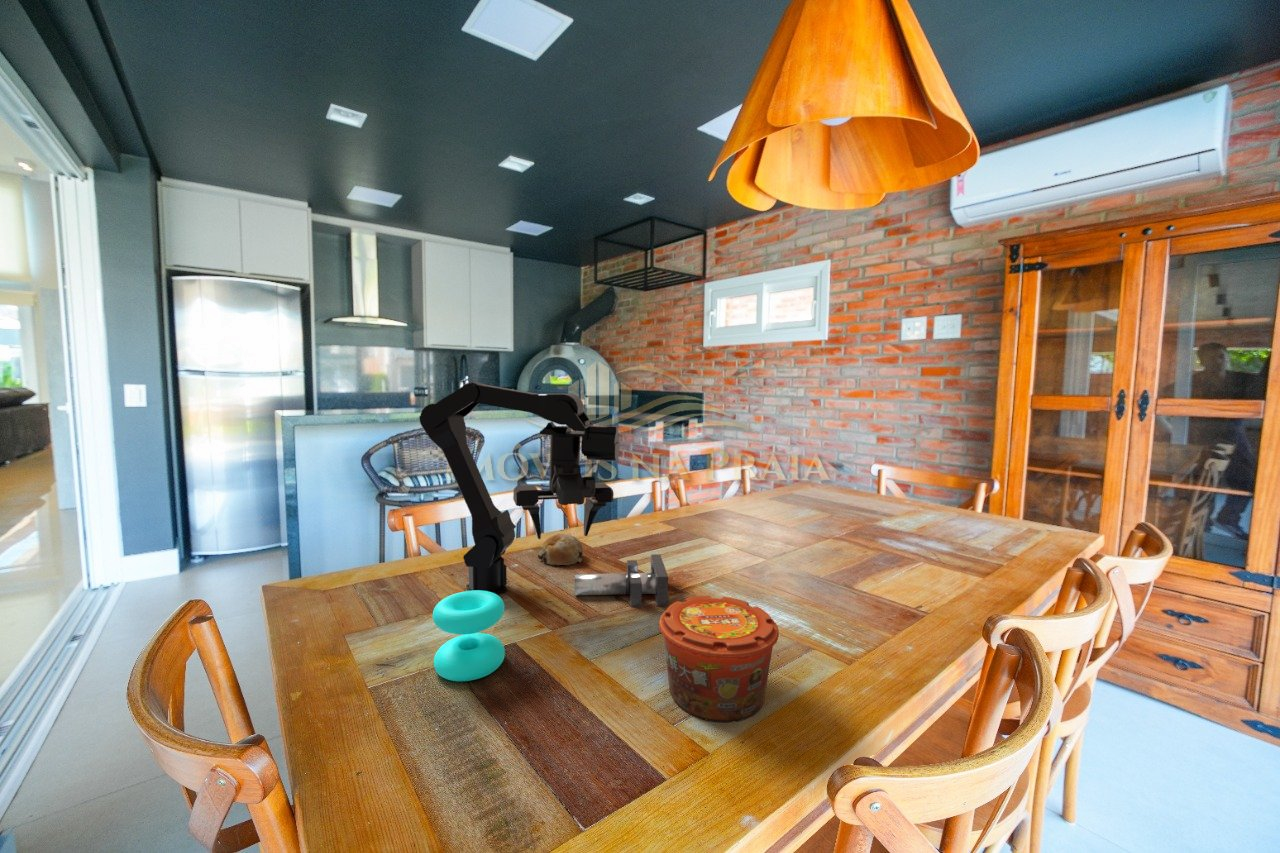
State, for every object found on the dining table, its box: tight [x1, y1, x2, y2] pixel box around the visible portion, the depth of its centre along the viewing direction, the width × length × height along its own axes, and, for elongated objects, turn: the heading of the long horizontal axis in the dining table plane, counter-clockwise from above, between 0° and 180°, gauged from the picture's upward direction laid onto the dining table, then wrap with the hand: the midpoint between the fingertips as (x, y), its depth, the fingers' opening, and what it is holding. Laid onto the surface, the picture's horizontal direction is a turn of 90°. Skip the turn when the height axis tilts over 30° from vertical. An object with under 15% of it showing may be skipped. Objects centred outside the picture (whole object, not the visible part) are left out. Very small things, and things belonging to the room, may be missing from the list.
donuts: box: [432, 590, 506, 682], centre depth 76 cm, size 10×10×10 cm
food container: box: [658, 595, 780, 723], centre depth 70 cm, size 16×16×11 cm
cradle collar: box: [626, 559, 643, 608], centre depth 103 cm, size 2×12×4 cm, turn 5°
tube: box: [574, 572, 656, 596], centre depth 103 cm, size 16×4×4 cm, turn 95°
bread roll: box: [537, 533, 584, 567], centre depth 122 cm, size 10×10×8 cm
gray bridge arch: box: [650, 553, 669, 607], centre depth 104 cm, size 2×12×6 cm, turn 5°
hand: (562, 537), depth 101 cm, fingers open, 9 cm apart
